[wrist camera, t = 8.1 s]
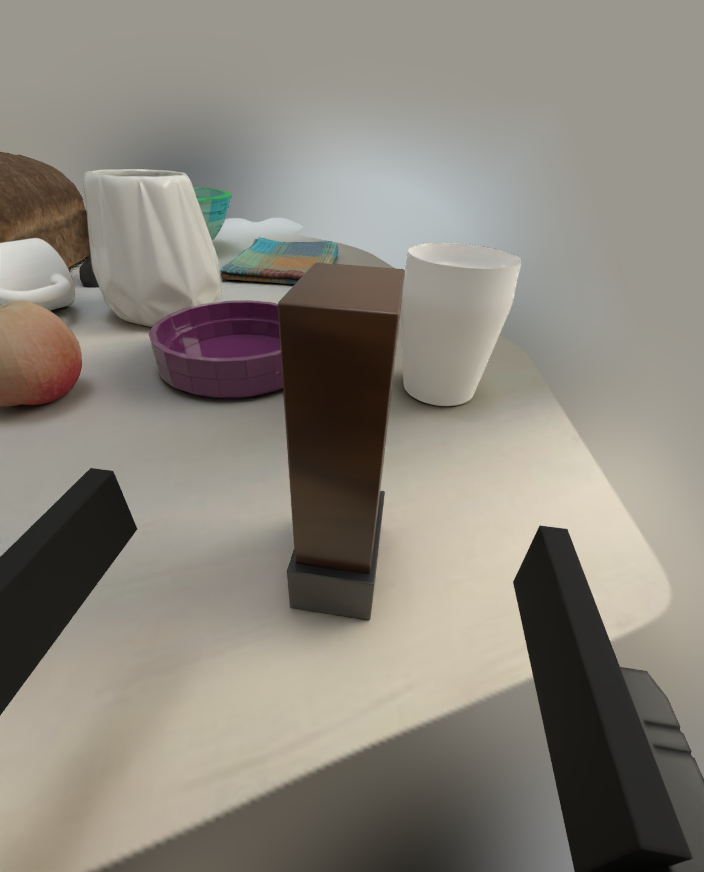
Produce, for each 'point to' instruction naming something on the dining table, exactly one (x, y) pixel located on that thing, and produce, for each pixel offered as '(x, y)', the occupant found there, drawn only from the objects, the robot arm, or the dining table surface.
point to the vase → (149, 243)
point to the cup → (453, 317)
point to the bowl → (213, 207)
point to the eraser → (337, 428)
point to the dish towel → (278, 261)
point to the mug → (34, 274)
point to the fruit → (35, 355)
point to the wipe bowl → (220, 349)
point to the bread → (42, 207)
